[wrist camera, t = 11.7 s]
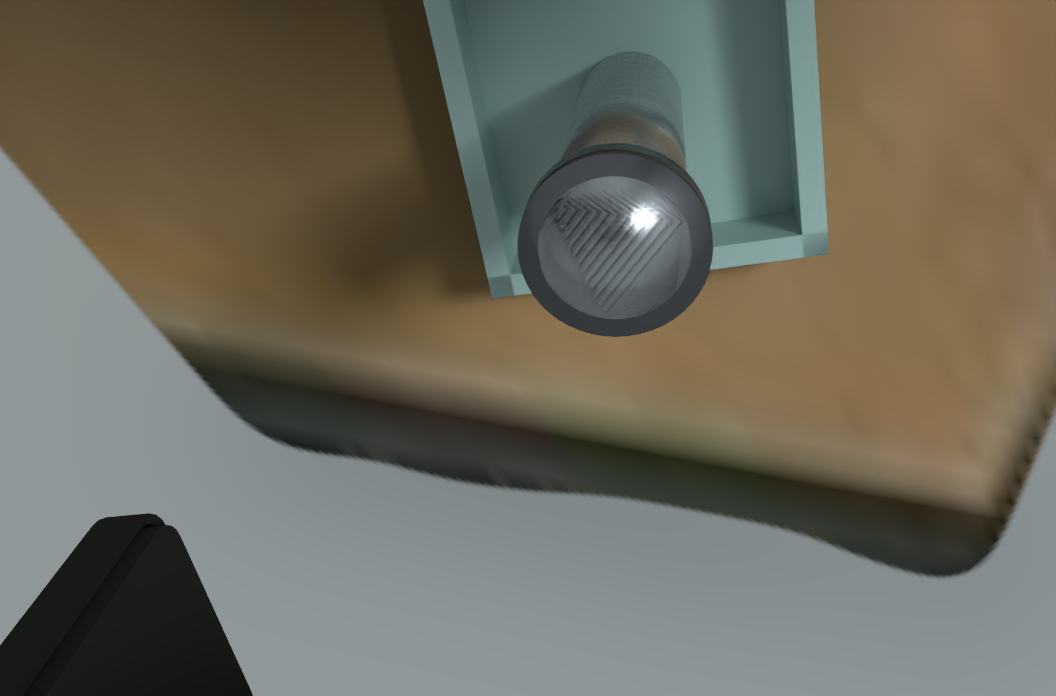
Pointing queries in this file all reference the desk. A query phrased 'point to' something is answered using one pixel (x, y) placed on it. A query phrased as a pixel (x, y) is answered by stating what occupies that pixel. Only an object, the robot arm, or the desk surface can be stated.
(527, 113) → the tray
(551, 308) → the flashlight
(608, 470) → the desk surface
